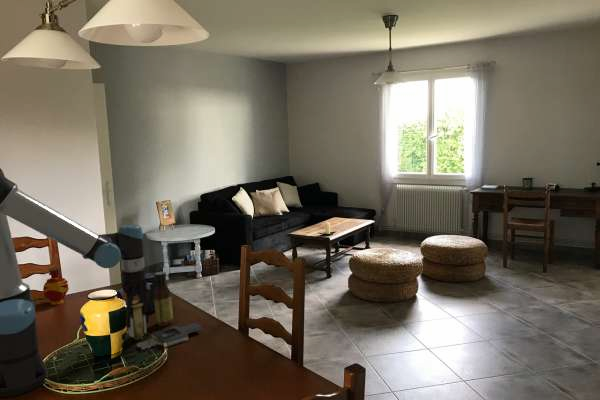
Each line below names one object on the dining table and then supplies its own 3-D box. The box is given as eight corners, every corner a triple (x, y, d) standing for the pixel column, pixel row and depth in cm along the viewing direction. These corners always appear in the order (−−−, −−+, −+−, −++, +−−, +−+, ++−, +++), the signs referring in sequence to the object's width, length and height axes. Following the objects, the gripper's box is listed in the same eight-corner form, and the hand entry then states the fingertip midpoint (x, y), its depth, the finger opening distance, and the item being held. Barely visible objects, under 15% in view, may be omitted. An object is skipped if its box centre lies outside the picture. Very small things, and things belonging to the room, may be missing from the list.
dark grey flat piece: (144, 353, 152) (144, 346, 152) (134, 344, 159) (134, 338, 159) (204, 334, 167) (204, 328, 166) (193, 327, 173) (192, 320, 173)
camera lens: (149, 315, 186) (147, 279, 184) (135, 312, 190) (133, 276, 188) (164, 309, 193) (162, 273, 191) (151, 305, 197) (148, 271, 195)
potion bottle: (38, 307, 198) (35, 272, 196) (52, 298, 208) (49, 266, 206) (62, 306, 198) (59, 272, 196) (75, 298, 208) (72, 265, 206)
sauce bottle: (175, 320, 180) (172, 270, 178) (169, 326, 174) (166, 275, 171) (159, 320, 181) (156, 270, 178) (152, 326, 175) (149, 275, 172)
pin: (133, 342, 161) (131, 306, 159) (128, 337, 165) (125, 302, 163) (148, 338, 164) (146, 302, 163) (142, 333, 168) (140, 299, 167)
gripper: (112, 276, 153) (117, 344, 156) (161, 266, 164) (165, 330, 167) (104, 272, 159) (109, 337, 162) (152, 262, 170) (156, 324, 173)
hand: (137, 333), depth 164 cm, fingers closed on pin, 4 cm apart
